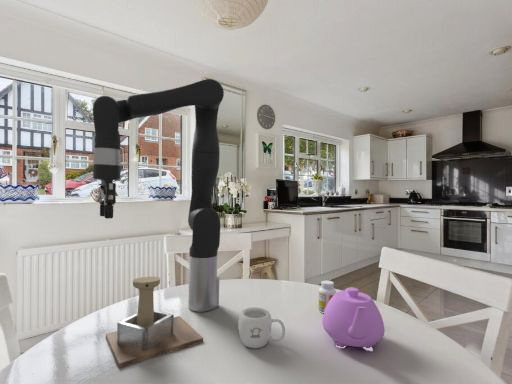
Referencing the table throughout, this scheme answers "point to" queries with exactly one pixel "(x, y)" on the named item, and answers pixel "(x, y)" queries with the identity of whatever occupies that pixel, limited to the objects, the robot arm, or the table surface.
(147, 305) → the handle
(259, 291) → the table surface
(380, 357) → the table surface
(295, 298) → the table surface
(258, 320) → the mug
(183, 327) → the walnut board
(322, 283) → the supplement bottle
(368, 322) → the teapot
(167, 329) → the collar
